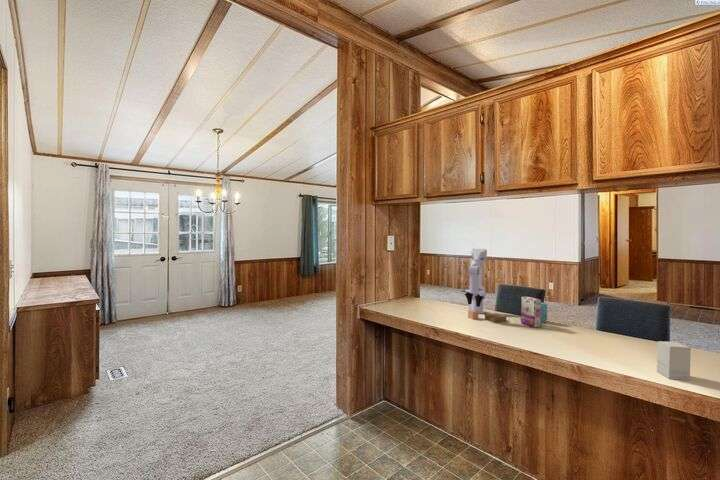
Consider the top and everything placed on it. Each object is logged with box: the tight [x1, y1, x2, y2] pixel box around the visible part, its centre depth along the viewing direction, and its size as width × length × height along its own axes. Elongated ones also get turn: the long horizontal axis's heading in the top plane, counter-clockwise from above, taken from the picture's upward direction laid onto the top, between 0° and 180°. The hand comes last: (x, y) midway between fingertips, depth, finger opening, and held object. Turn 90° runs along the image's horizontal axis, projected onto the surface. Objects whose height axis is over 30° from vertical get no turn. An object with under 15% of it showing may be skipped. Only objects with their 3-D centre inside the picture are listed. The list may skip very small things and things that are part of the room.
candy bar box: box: [520, 296, 542, 328], centre depth 210 cm, size 11×5×16 cm, turn 16°
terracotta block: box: [467, 309, 479, 320], centre depth 226 cm, size 4×4×5 cm
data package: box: [541, 301, 548, 324], centre depth 220 cm, size 12×4×12 cm, turn 36°
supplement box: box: [656, 340, 692, 381], centre depth 137 cm, size 7×7×13 cm
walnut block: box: [484, 312, 507, 323], centre depth 222 cm, size 9×9×4 cm
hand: (473, 305), depth 226 cm, fingers open, 7 cm apart
